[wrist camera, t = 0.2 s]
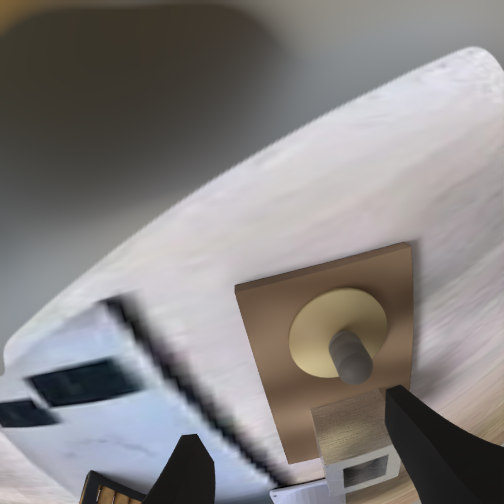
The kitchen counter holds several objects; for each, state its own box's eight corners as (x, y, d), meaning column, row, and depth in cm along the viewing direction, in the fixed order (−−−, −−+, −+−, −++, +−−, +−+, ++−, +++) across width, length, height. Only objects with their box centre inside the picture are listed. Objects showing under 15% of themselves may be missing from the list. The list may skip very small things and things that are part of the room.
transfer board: (400, 422, 24) (422, 465, 19) (287, 456, 25) (295, 505, 19) (403, 241, 19) (453, 273, 13) (234, 285, 19) (234, 336, 14)
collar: (377, 429, 23) (398, 476, 18) (317, 447, 23) (330, 497, 18) (378, 388, 21) (405, 439, 16) (309, 408, 21) (325, 465, 16)
